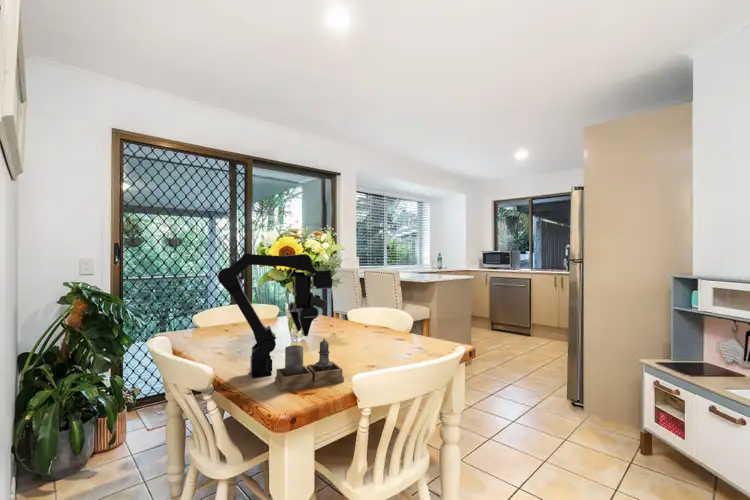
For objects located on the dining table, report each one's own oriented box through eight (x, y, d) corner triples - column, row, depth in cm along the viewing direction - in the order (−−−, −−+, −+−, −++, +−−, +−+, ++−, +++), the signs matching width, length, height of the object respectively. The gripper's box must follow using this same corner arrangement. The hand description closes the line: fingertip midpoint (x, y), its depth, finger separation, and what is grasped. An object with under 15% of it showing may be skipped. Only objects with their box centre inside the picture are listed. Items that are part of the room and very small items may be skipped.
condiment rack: (281, 391, 113) (281, 353, 113) (274, 381, 122) (275, 345, 122) (344, 381, 121) (344, 346, 122) (333, 372, 130) (333, 339, 131)
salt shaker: (335, 376, 122) (335, 339, 122) (317, 378, 120) (317, 340, 120) (329, 370, 128) (330, 335, 128) (313, 373, 125) (313, 337, 125)
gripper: (333, 290, 129) (332, 336, 128) (316, 286, 145) (316, 326, 145) (301, 292, 124) (300, 339, 124) (287, 287, 140) (287, 329, 140)
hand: (302, 333), depth 133 cm, fingers open, 9 cm apart
